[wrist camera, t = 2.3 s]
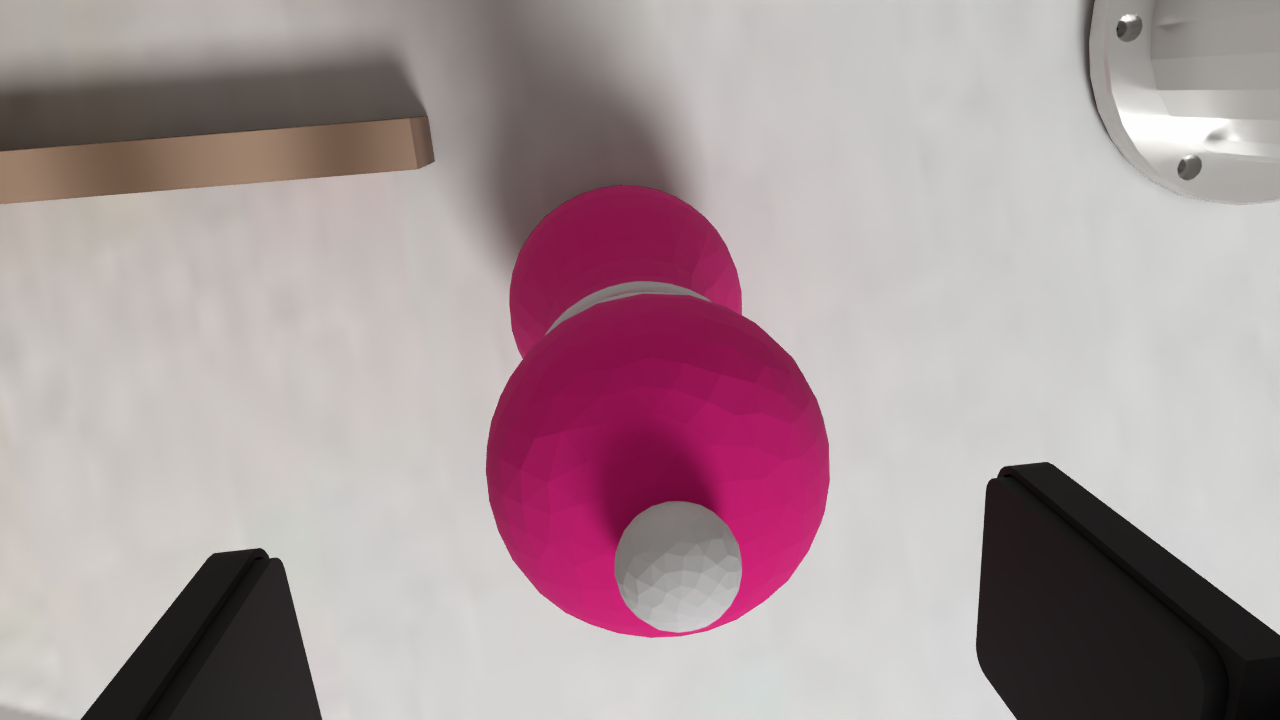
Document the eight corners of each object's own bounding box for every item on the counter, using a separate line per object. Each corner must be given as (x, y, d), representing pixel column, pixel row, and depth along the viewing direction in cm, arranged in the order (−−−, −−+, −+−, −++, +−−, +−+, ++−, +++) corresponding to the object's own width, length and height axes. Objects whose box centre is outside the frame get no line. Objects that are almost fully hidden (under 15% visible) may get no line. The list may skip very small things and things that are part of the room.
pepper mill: (501, 190, 28) (328, 390, 9) (704, 157, 28) (953, 285, 9) (540, 382, 30) (469, 858, 11) (728, 350, 30) (967, 771, 12)
